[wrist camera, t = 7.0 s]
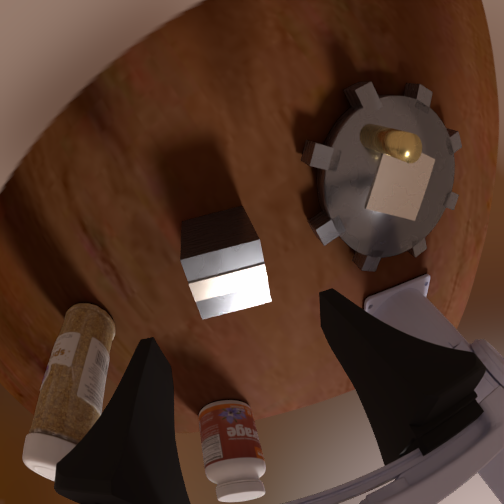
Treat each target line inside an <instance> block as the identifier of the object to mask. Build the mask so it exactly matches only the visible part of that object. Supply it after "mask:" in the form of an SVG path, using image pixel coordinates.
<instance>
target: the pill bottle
mask: <svg viewBox="0 0 504 504" xmlns="http://www.w3.org/2000/svg"><path fill="white" fill-rule="evenodd" d="M199 426H200V435H201V443H202V451H203V459H204V466H205V472H206V476H207V478H208V479H209V480H210V481H212V482H214V483H216V484H217V485H218V486H217V487H216V494H217V498H218V500H219V501H222V502H239V501H247V500H251V499H255V498H258V497H261V496H263V495H264V494H265V488H264V484H263V483H262V481H260V480H259V478H260V477H261V476H262V475H263V474H264V473H265V470H266V465H265V461H264V457H263V453H262V450H261V446H260V442H259V438H258V434H257V430H256V426H255V421H254V417H253V413H252V410H251V408H250V406H249V405H247V404H246V403H244V402H241V401H236V400H222V401H216V402H212V403H210V404H208V405H206V406H205V407H203V408H202V409H201V411H200V413H199Z"/></svg>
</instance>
